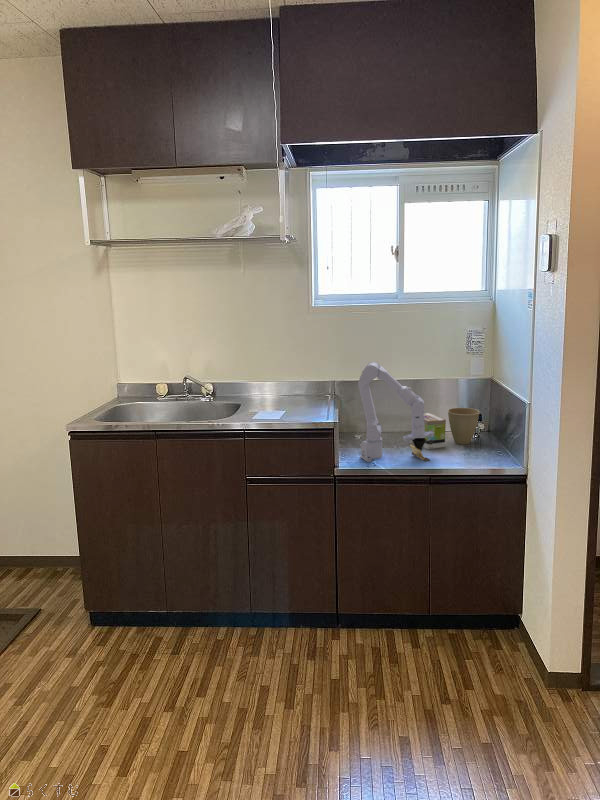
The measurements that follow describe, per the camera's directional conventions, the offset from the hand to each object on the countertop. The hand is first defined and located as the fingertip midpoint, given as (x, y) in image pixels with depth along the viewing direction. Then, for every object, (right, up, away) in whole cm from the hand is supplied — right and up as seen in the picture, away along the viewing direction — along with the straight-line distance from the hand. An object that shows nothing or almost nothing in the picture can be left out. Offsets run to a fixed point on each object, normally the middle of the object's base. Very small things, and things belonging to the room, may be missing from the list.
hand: (418, 453), depth 274 cm
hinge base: (+4, -2, +2) cm, 6 cm away
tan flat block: (-1, 0, 0) cm, 1 cm away
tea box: (+9, +2, +21) cm, 23 cm away
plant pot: (+26, +3, +25) cm, 36 cm away
